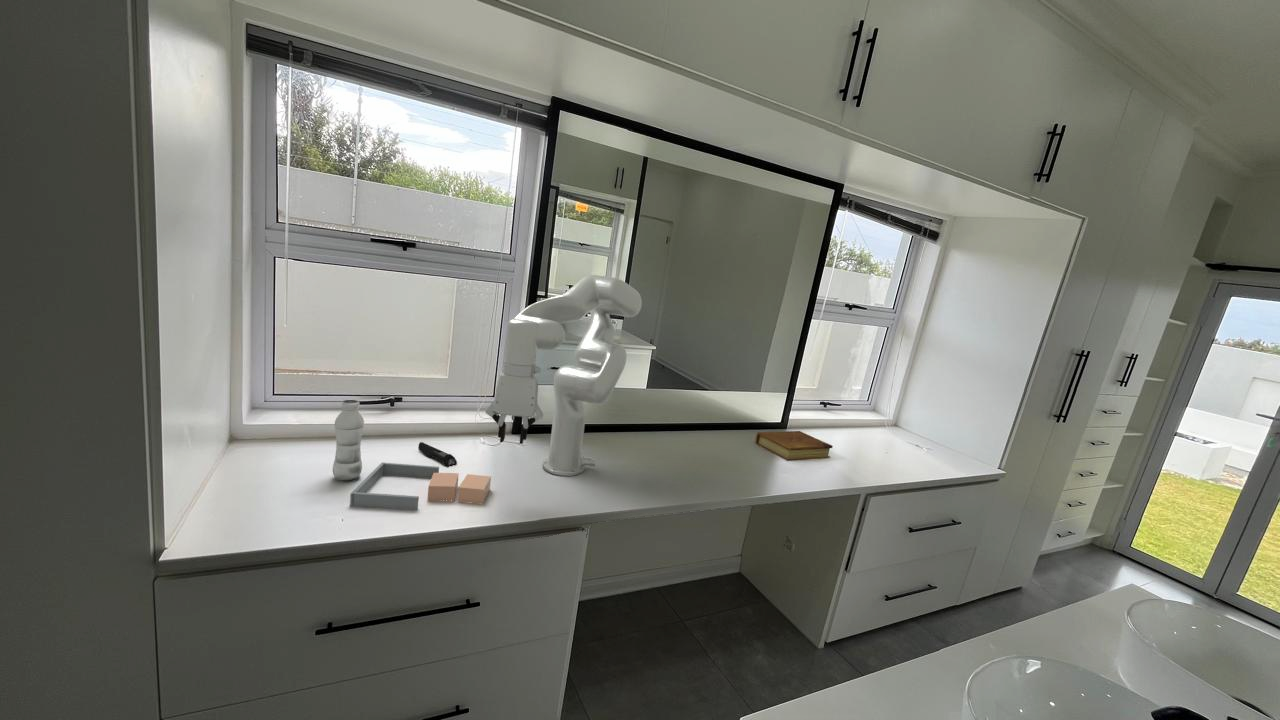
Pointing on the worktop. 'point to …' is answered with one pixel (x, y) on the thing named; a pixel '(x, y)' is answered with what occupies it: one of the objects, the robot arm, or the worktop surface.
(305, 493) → the worktop surface
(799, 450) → the diary
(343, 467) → the plastic bottle
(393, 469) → the organizer bay
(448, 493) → the tile
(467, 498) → the tile
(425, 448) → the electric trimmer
